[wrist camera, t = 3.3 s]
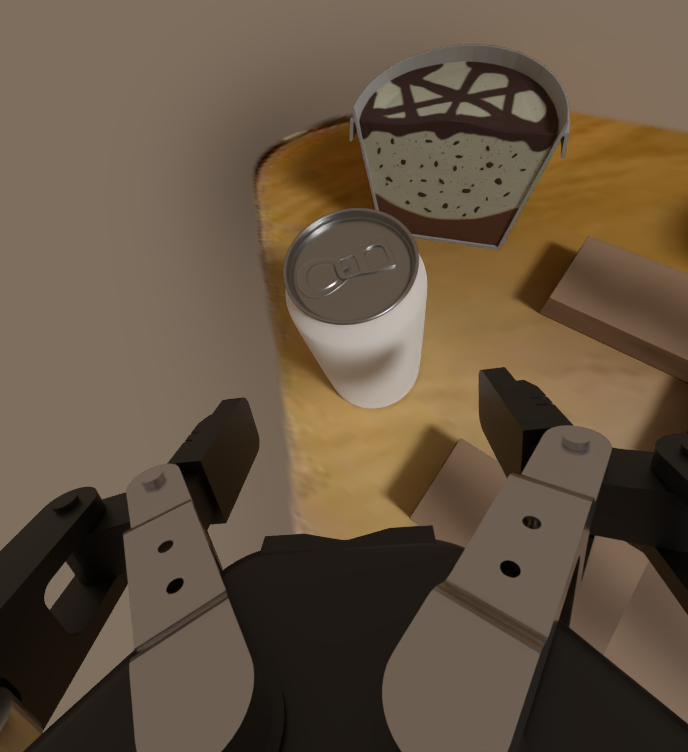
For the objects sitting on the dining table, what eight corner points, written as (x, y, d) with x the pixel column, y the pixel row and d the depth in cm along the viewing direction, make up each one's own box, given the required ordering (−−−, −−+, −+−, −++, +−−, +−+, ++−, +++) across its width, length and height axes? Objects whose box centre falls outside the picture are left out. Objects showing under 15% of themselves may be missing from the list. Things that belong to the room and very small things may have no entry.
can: (319, 341, 27) (259, 229, 16) (401, 314, 27) (398, 179, 16) (343, 422, 25) (292, 356, 14) (433, 393, 25) (456, 301, 13)
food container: (533, 189, 29) (595, 38, 19) (520, 253, 27) (581, 120, 18) (383, 174, 32) (373, 36, 22) (363, 230, 30) (344, 107, 21)
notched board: (575, 255, 26) (588, 236, 24) (828, 357, 21) (869, 343, 20) (409, 517, 22) (409, 518, 20) (675, 715, 17) (707, 740, 16)
